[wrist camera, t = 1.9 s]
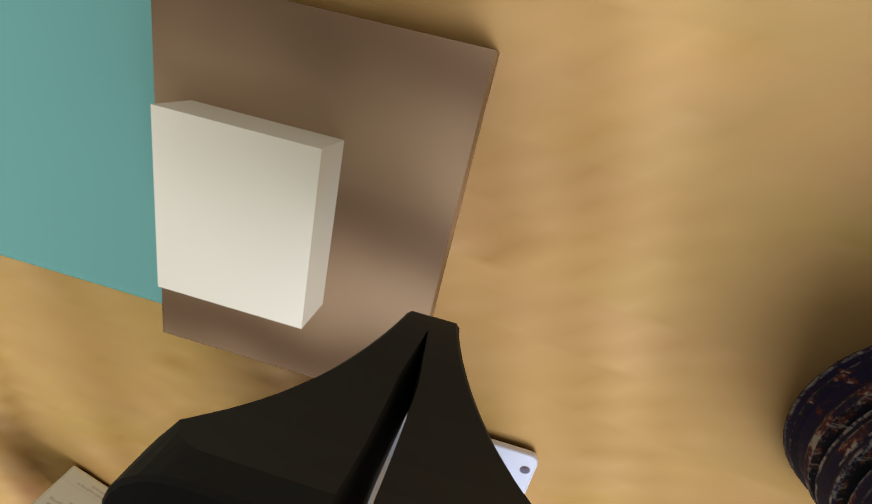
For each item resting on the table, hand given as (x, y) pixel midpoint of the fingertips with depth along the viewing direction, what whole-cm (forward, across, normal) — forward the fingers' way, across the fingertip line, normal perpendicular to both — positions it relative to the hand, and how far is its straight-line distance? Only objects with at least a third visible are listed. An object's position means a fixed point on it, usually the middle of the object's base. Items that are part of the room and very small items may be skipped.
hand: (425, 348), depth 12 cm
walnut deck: (+8, +6, 0) cm, 11 cm away
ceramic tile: (+6, +8, 0) cm, 10 cm away
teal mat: (+8, +20, 0) cm, 21 cm away
